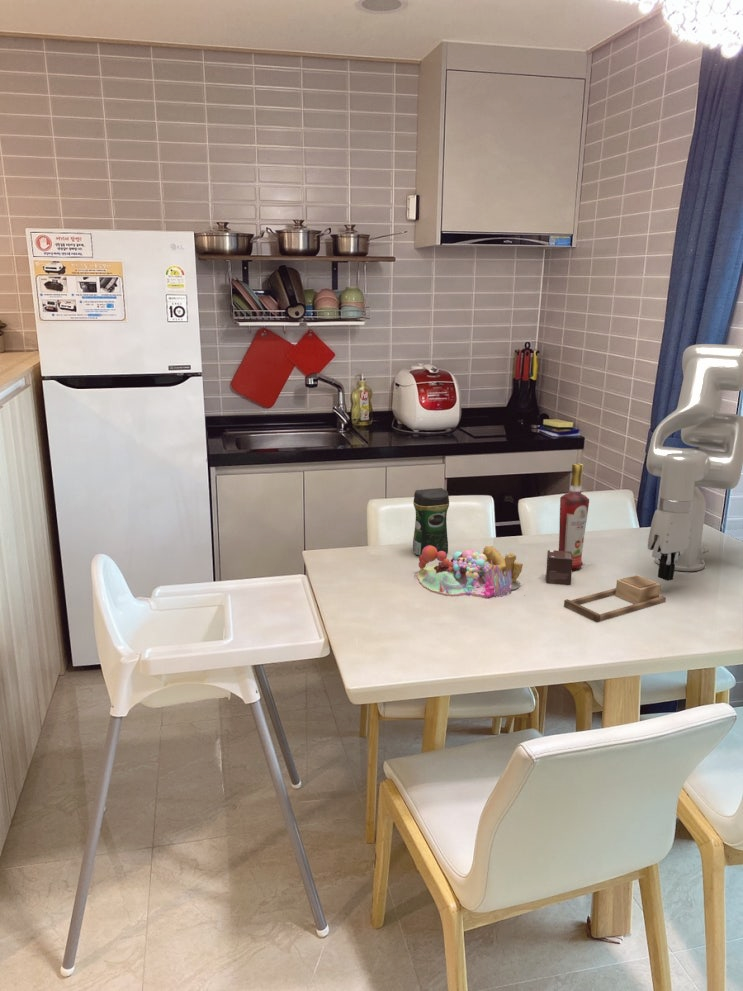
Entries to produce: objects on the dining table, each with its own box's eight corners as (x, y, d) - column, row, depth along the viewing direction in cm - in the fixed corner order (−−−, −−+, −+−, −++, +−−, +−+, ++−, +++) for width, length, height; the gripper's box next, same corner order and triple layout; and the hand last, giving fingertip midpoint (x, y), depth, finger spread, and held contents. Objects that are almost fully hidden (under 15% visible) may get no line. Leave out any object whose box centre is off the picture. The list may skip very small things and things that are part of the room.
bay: (631, 589, 189) (632, 581, 189) (665, 603, 181) (666, 595, 180) (563, 608, 178) (564, 600, 177) (596, 623, 169) (597, 615, 169)
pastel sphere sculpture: (483, 560, 209) (485, 528, 206) (538, 590, 189) (540, 555, 186) (402, 574, 198) (403, 540, 196) (451, 608, 178) (453, 570, 175)
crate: (635, 590, 188) (636, 574, 187) (658, 599, 182) (660, 583, 181) (615, 595, 184) (616, 579, 183) (638, 605, 178) (640, 589, 177)
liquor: (573, 561, 208) (581, 460, 201) (588, 570, 202) (598, 466, 194) (549, 563, 206) (557, 462, 199) (564, 573, 199) (573, 468, 192)
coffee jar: (439, 547, 218) (442, 484, 213) (451, 556, 211) (454, 491, 206) (408, 551, 215) (409, 486, 210) (419, 560, 208) (421, 494, 203)
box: (570, 587, 190) (573, 559, 188) (545, 585, 192) (548, 557, 190) (569, 578, 196) (571, 551, 194) (545, 576, 197) (547, 549, 195)
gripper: (681, 499, 189) (672, 569, 193) (640, 505, 181) (632, 578, 186) (708, 505, 183) (698, 578, 187) (667, 512, 175) (657, 588, 179)
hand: (665, 578), depth 186 cm, fingers closed
